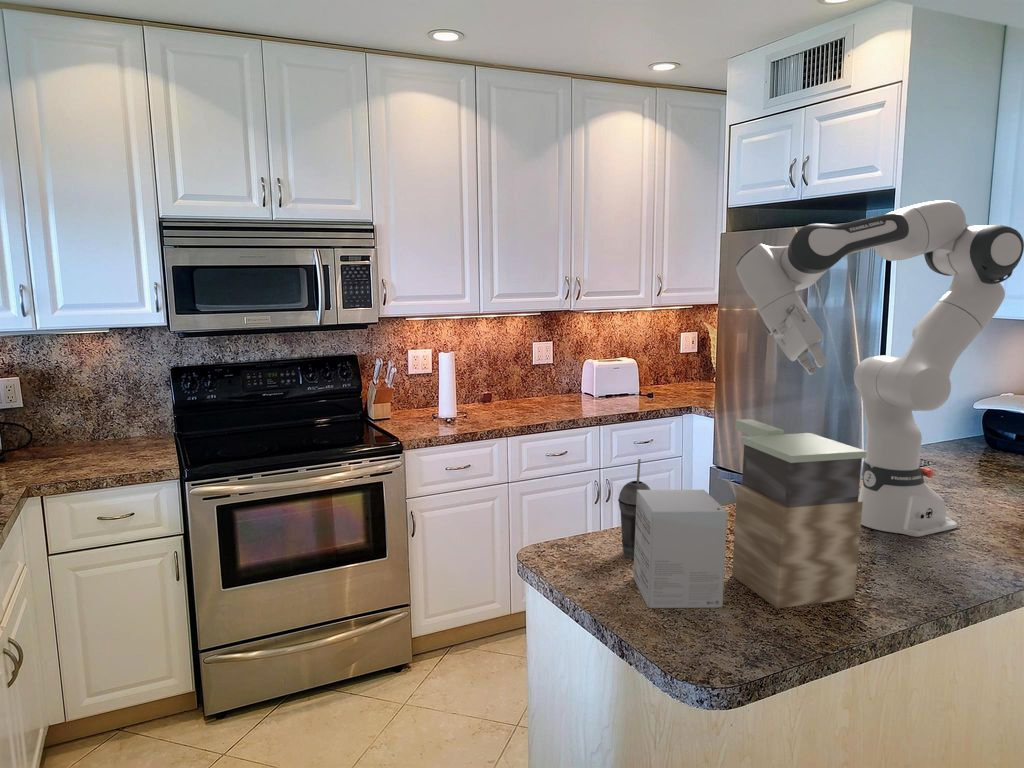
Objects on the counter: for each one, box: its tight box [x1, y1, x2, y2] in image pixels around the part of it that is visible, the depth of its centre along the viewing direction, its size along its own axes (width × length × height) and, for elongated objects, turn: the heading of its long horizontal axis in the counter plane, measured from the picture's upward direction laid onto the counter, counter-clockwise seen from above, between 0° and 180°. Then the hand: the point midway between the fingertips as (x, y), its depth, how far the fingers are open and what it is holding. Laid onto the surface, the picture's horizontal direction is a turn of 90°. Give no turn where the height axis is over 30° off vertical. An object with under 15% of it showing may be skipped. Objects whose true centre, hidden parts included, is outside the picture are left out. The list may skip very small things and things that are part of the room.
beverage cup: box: [617, 458, 652, 560], centre depth 144 cm, size 7×7×20 cm
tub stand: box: [731, 444, 863, 609], centre depth 129 cm, size 16×14×26 cm
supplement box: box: [632, 489, 728, 609], centre depth 127 cm, size 13×13×18 cm
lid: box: [734, 418, 867, 463], centre depth 132 cm, size 15×26×2 cm, turn 15°
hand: (818, 369), depth 150 cm, fingers open, 8 cm apart
